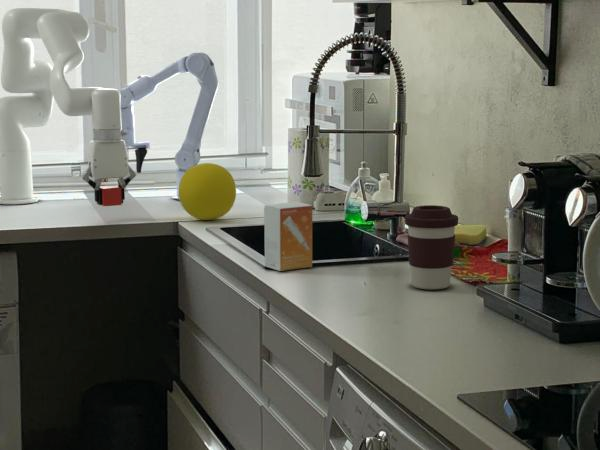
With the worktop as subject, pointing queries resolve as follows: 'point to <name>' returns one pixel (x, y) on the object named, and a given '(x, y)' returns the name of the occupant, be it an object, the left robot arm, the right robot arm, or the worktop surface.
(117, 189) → the red cube
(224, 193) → the toy
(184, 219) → the worktop surface
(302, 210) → the small box
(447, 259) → the coffee cup
